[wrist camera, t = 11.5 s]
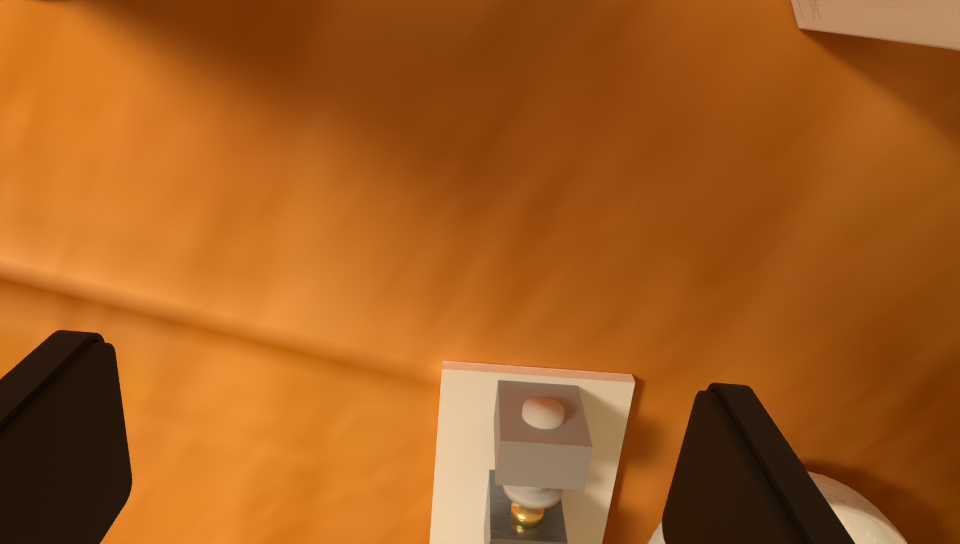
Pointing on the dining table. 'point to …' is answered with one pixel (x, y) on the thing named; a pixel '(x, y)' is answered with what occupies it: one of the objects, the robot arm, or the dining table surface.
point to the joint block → (520, 520)
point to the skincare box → (885, 20)
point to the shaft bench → (480, 457)
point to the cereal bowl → (844, 515)
